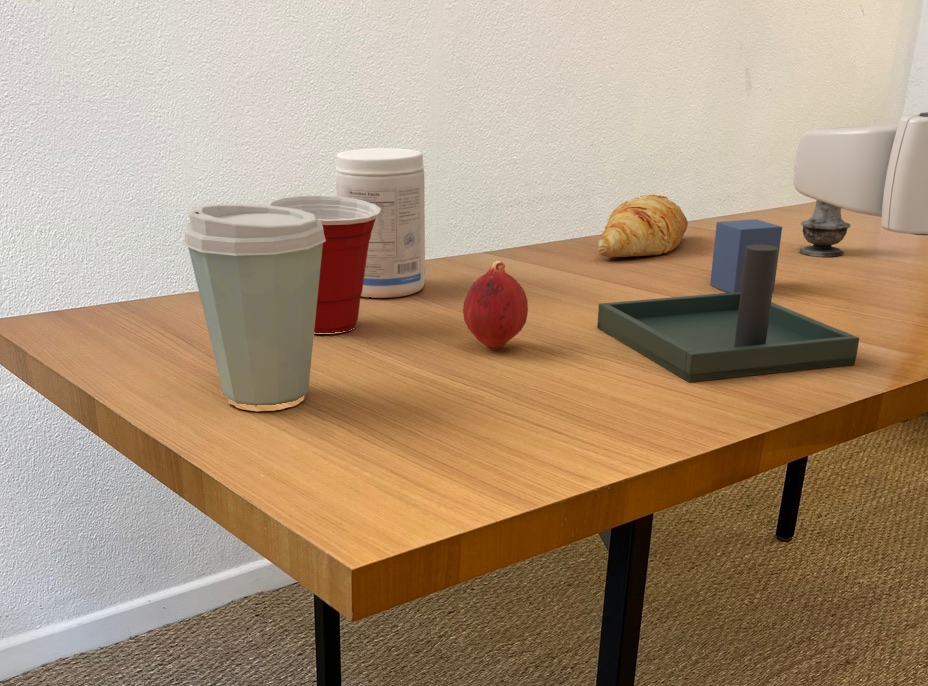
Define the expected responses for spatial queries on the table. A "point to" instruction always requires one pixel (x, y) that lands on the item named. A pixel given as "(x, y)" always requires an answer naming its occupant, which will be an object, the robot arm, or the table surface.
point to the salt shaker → (824, 231)
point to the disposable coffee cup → (258, 296)
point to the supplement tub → (389, 216)
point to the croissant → (643, 228)
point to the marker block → (738, 249)
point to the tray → (728, 330)
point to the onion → (495, 307)
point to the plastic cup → (338, 255)
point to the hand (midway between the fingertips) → (874, 147)
